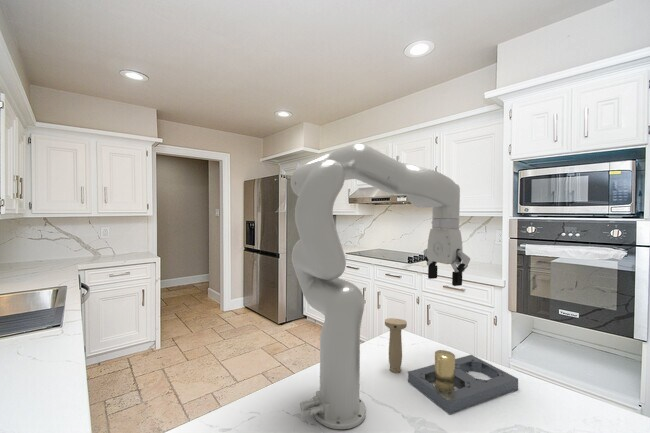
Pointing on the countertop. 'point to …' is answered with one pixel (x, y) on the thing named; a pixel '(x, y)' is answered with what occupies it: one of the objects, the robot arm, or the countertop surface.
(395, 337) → the handle
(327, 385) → the robot arm
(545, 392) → the countertop surface
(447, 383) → the brass pin
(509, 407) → the countertop surface
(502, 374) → the bolt plate
